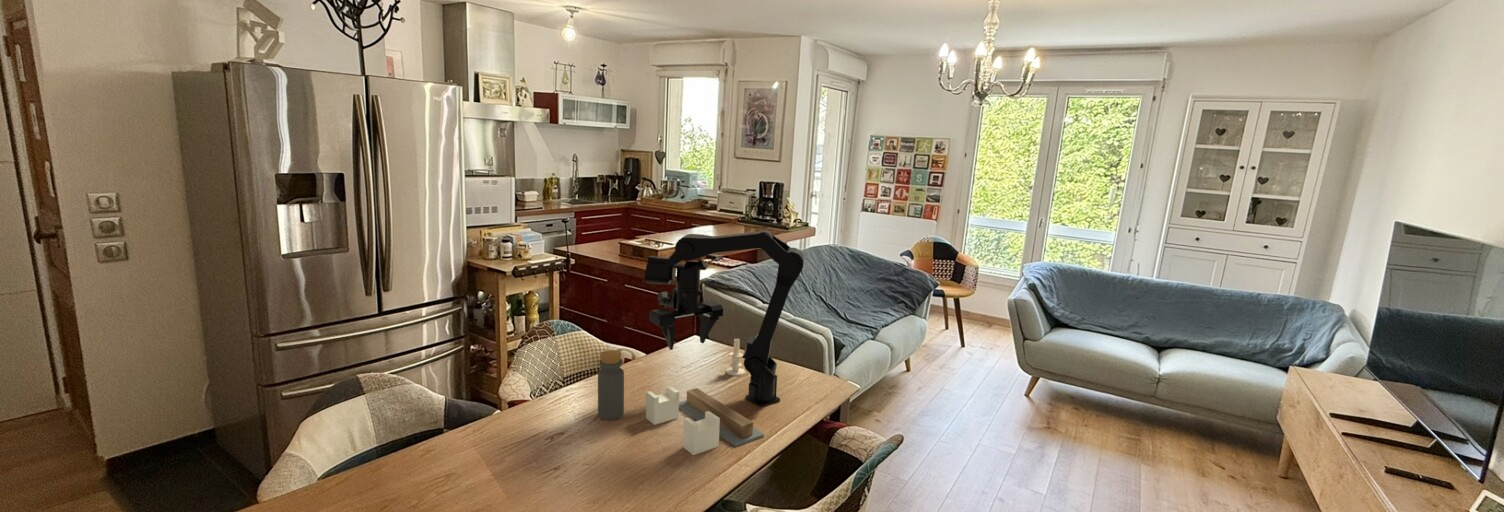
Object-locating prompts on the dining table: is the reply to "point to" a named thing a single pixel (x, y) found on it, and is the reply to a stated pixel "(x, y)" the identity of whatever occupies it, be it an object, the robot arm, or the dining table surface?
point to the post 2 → (701, 434)
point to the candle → (735, 361)
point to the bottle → (610, 386)
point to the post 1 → (662, 406)
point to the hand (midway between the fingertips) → (686, 346)
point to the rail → (720, 413)
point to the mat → (722, 431)
